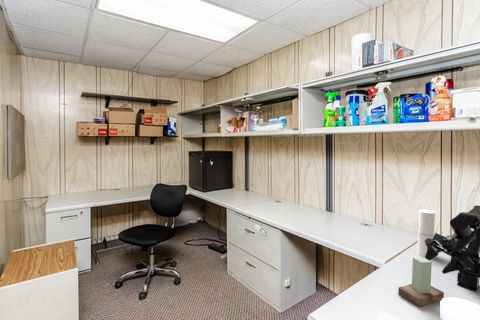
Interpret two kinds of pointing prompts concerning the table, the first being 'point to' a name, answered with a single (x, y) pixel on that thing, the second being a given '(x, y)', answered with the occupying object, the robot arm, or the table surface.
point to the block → (421, 274)
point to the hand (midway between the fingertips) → (433, 267)
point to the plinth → (420, 295)
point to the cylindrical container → (425, 230)
